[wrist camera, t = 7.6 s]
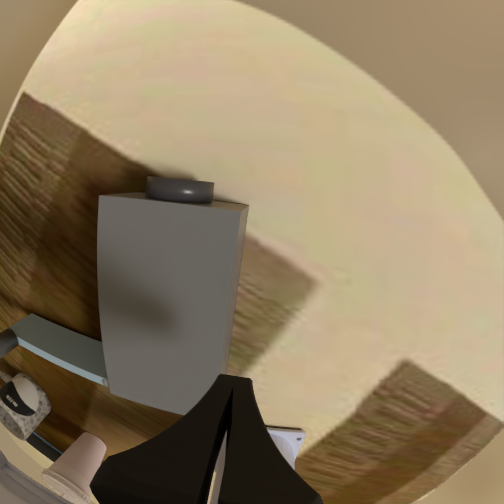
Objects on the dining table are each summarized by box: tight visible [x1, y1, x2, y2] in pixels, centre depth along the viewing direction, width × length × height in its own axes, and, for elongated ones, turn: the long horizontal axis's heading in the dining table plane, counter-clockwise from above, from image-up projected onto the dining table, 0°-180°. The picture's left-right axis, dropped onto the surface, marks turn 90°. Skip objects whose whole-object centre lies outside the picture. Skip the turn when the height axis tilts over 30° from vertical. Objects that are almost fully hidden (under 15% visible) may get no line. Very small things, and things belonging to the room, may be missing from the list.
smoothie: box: [41, 432, 107, 504], centre depth 19 cm, size 6×6×14 cm
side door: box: [0, 313, 109, 387], centre depth 18 cm, size 12×2×8 cm, turn 80°
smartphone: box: [26, 431, 63, 462], centre depth 29 cm, size 7×1×15 cm
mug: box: [0, 370, 51, 441], centre depth 22 cm, size 10×7×7 cm, turn 64°
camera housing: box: [97, 176, 249, 415], centre depth 18 cm, size 15×8×5 cm, turn 172°
